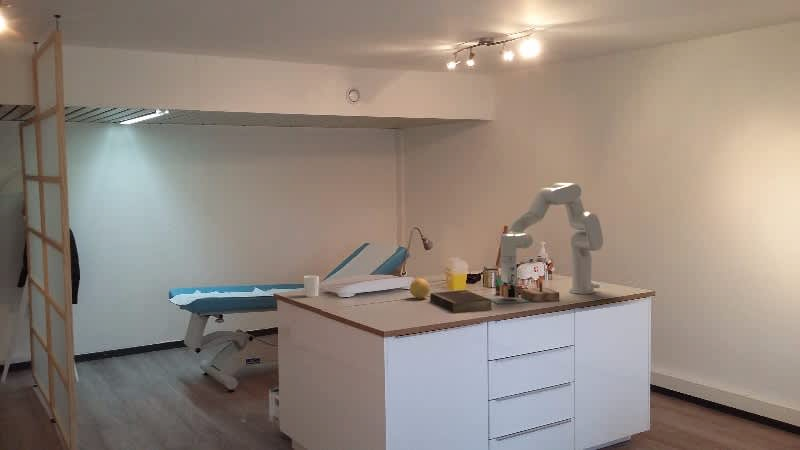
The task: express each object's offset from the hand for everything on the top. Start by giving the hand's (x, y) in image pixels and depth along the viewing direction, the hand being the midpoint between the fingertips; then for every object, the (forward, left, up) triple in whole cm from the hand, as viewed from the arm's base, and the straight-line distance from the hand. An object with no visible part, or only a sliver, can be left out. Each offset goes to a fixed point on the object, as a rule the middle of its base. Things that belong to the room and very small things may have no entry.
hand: (508, 295), depth 350 cm
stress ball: (+39, -19, -3) cm, 44 cm away
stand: (-17, -1, -3) cm, 17 cm away
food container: (-7, -20, -3) cm, 21 cm away
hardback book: (+26, +4, -3) cm, 27 cm away
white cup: (+90, -41, -3) cm, 99 cm away
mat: (0, 0, -3) cm, 3 cm away
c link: (0, 0, -1) cm, 1 cm away
